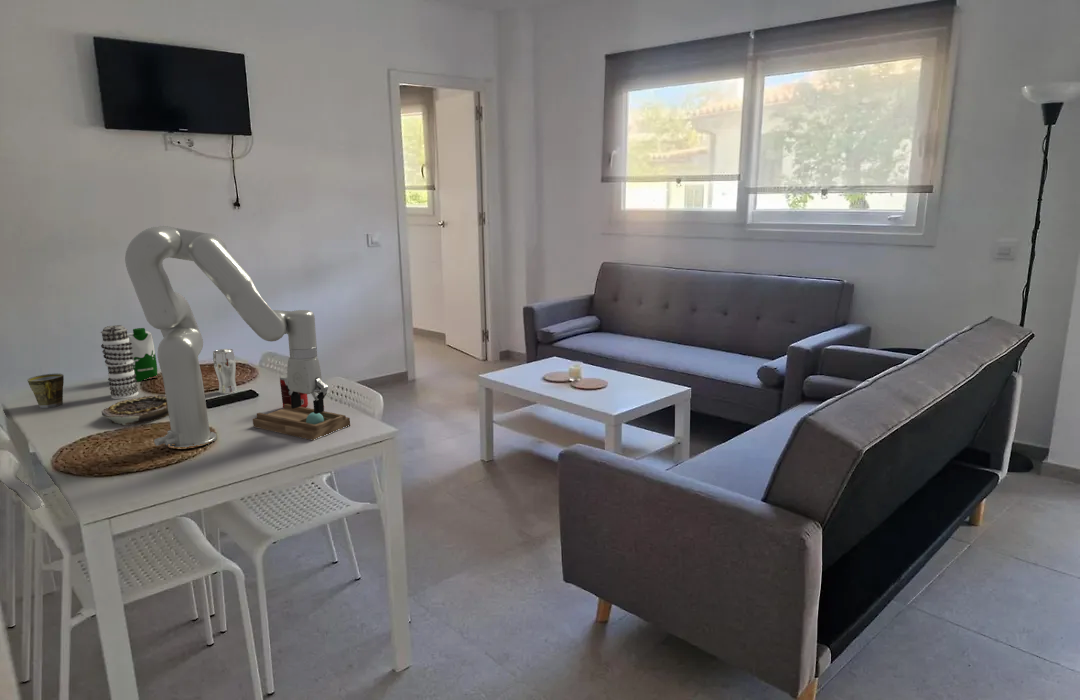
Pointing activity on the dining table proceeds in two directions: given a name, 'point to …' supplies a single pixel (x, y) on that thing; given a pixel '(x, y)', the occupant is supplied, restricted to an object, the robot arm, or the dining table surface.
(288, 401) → the canned food
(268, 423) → the track board
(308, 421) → the ball
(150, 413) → the pie
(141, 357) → the milk carton
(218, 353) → the beer glass
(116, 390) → the decorative candle
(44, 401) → the ceramic cup
